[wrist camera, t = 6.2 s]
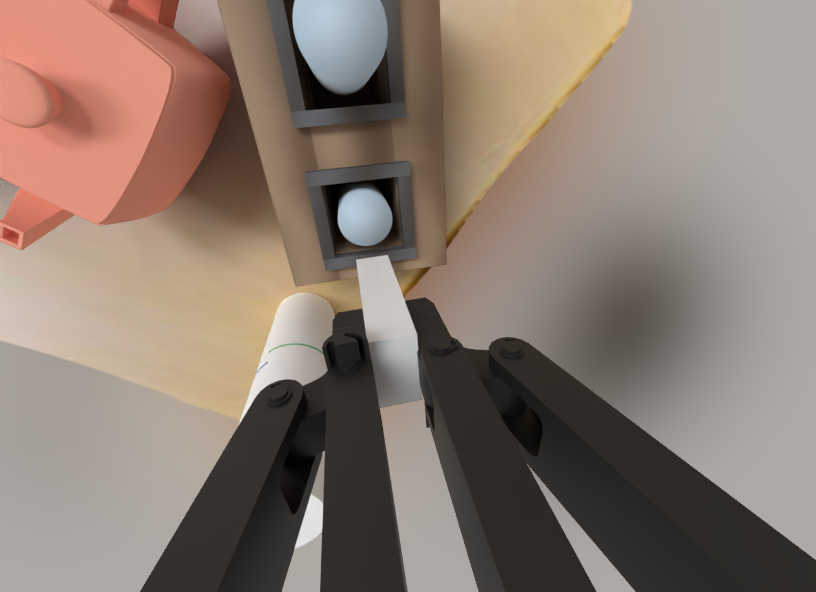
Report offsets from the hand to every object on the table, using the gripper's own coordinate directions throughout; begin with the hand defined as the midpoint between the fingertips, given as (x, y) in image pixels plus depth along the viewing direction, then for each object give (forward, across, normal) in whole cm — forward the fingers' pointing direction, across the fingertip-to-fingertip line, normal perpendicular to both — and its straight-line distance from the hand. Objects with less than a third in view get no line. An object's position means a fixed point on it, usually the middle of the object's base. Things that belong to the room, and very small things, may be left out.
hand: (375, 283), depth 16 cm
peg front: (+15, 0, +11) cm, 18 cm away
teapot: (+24, -18, +9) cm, 31 cm away
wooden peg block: (+24, 0, +5) cm, 24 cm away
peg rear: (+21, +1, 0) cm, 21 cm away
